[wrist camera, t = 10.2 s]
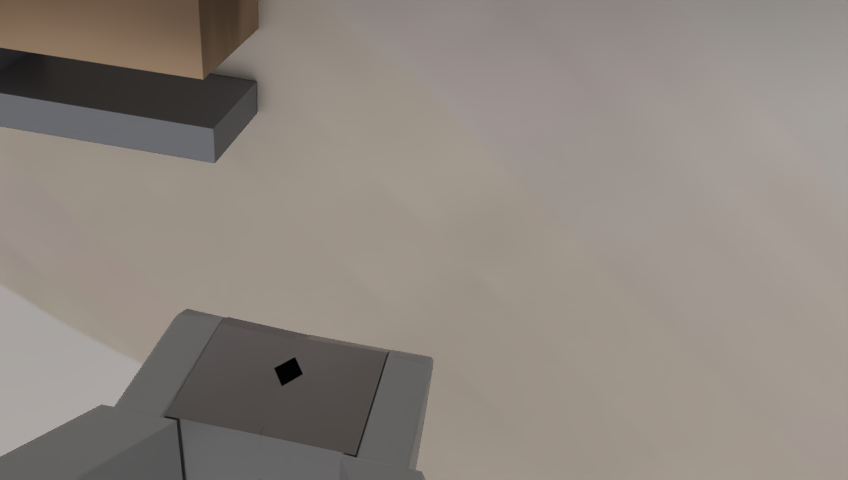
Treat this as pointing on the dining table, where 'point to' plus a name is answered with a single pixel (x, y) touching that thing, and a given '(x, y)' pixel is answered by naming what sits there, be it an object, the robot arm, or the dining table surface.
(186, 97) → the bay
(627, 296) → the dining table surface
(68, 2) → the wooden block
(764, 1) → the dining table surface
